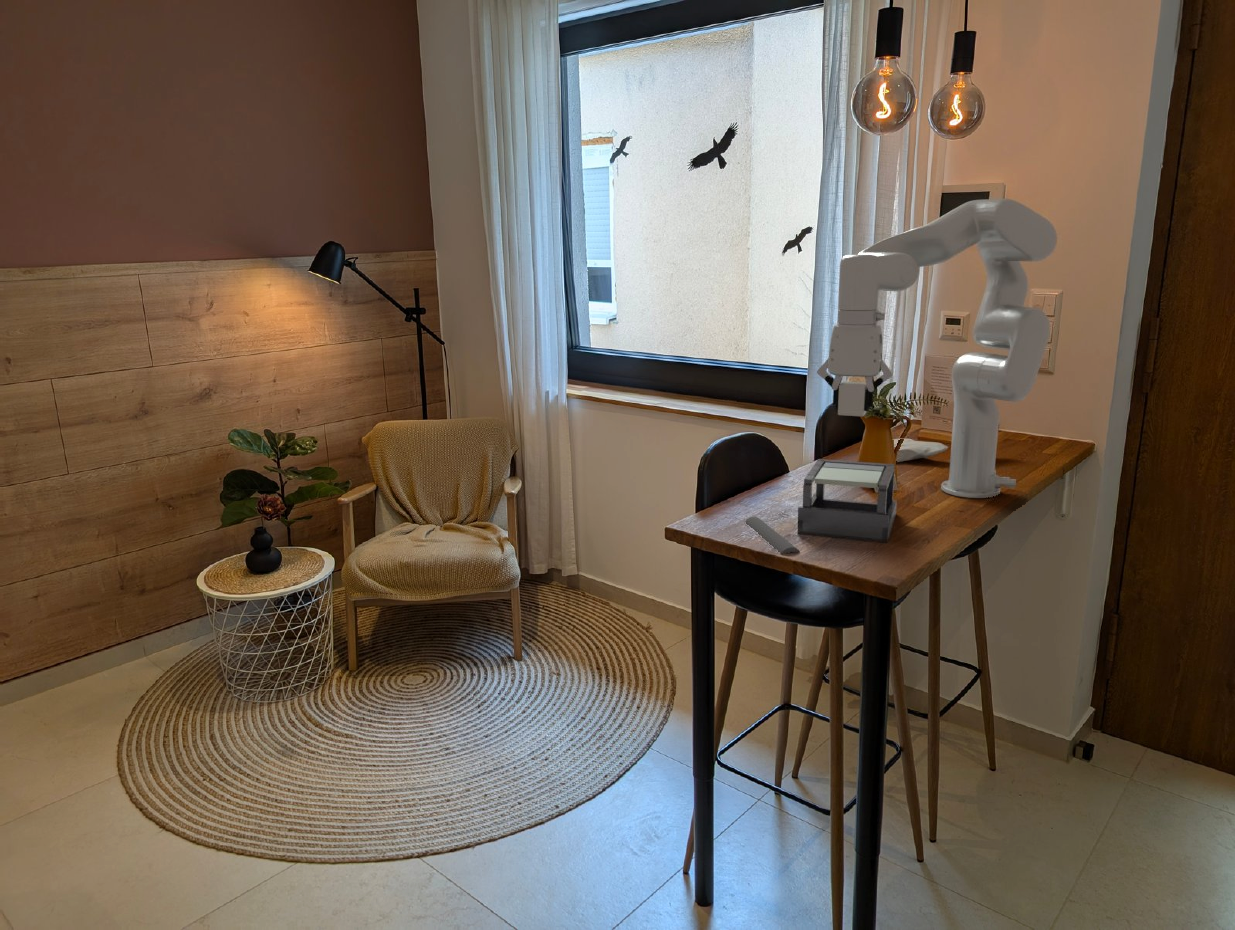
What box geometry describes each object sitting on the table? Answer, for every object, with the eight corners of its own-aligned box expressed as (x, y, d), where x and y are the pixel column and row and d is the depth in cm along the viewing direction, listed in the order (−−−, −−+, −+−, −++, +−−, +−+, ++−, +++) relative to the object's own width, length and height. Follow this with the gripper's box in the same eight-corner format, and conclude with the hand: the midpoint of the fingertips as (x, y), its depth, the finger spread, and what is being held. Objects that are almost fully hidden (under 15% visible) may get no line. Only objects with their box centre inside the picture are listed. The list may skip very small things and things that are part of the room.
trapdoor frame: (896, 513, 188) (898, 463, 186) (887, 542, 171) (890, 488, 169) (813, 506, 195) (815, 458, 192) (797, 533, 178) (798, 480, 175)
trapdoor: (883, 477, 184) (884, 466, 184) (876, 495, 172) (877, 483, 172) (825, 473, 189) (825, 462, 188) (814, 490, 177) (814, 478, 176)
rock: (915, 473, 220) (952, 458, 228) (914, 455, 219) (951, 441, 227) (848, 463, 238) (885, 449, 246) (847, 446, 237) (884, 433, 244)
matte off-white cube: (866, 411, 181) (868, 382, 179) (863, 416, 176) (864, 386, 175) (841, 410, 183) (843, 381, 181) (837, 414, 178) (839, 385, 177)
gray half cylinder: (780, 557, 167) (780, 548, 166) (743, 525, 185) (743, 517, 185) (801, 555, 168) (801, 546, 167) (762, 523, 186) (762, 515, 186)
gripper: (904, 317, 175) (898, 408, 179) (817, 316, 181) (813, 403, 186) (900, 321, 168) (894, 415, 173) (809, 319, 175) (806, 410, 179)
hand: (852, 408), depth 179 cm, fingers closed on matte off-white cube, 5 cm apart
